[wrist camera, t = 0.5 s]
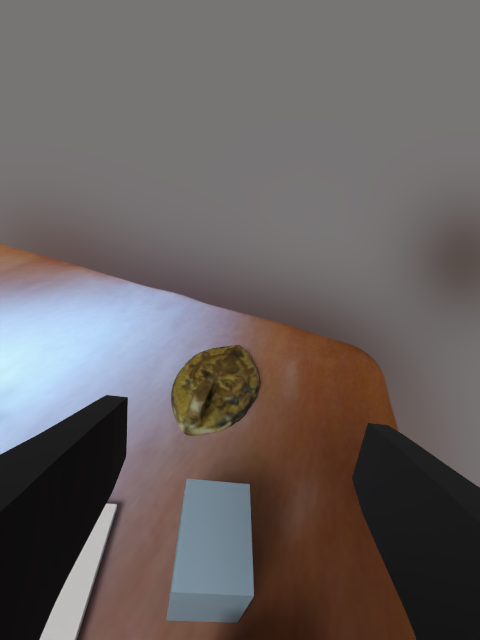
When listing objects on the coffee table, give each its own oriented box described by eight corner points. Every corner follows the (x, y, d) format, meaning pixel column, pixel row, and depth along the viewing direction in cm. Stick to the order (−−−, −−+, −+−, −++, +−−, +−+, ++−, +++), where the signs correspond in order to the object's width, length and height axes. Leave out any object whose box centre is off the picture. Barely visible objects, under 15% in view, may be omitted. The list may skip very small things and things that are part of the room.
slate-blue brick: (237, 623, 19) (254, 596, 16) (165, 620, 18) (171, 591, 16) (236, 518, 24) (249, 484, 21) (180, 513, 23) (186, 478, 21)
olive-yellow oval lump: (204, 347, 43) (148, 428, 30) (205, 318, 41) (144, 393, 28) (268, 362, 41) (236, 455, 28) (273, 333, 39) (240, 420, 26)
